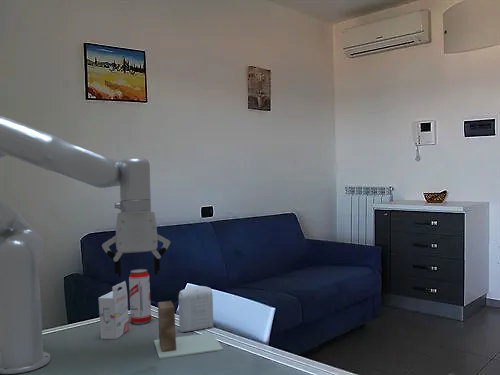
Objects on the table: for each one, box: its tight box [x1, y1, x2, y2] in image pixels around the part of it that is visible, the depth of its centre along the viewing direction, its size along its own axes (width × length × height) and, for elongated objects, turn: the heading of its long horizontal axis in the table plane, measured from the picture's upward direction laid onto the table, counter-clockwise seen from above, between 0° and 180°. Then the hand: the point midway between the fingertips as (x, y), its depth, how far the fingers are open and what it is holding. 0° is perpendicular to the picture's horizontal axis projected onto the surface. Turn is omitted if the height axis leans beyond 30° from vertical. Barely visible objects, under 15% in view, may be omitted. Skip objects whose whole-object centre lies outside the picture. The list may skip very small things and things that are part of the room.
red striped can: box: [128, 268, 152, 325], centre depth 154 cm, size 6×6×16 cm
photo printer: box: [178, 285, 214, 333], centre depth 145 cm, size 10×4×12 cm, turn 116°
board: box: [153, 332, 224, 360], centre depth 130 cm, size 16×14×1 cm
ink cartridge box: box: [98, 280, 130, 340], centre depth 142 cm, size 9×5×15 cm, turn 168°
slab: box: [157, 300, 177, 352], centre depth 128 cm, size 4×7×11 cm, turn 16°
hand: (137, 274), depth 126 cm, fingers open, 8 cm apart
